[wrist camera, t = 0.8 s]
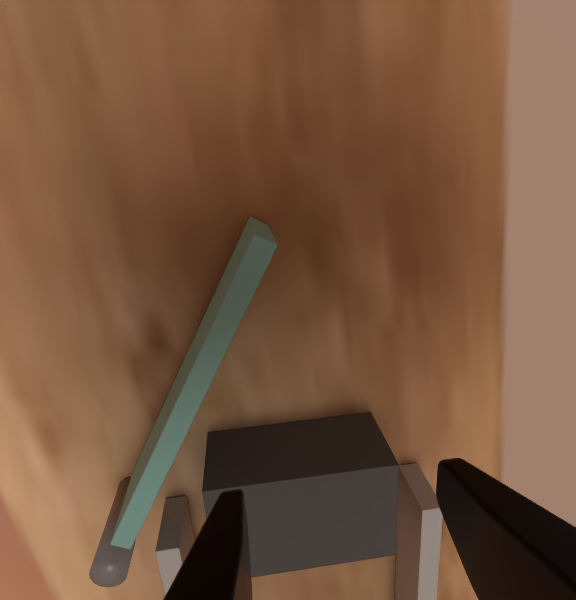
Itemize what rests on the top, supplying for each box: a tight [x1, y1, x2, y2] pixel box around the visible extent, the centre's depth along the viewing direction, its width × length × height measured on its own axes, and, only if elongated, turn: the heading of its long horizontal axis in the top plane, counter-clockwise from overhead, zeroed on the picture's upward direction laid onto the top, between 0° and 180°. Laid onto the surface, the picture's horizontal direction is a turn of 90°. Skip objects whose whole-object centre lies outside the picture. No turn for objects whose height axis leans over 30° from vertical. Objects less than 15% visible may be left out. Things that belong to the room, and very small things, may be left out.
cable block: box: [202, 412, 399, 577], centre depth 20 cm, size 5×8×4 cm, turn 93°
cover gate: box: [110, 217, 278, 549], centre depth 17 cm, size 1×13×4 cm, turn 153°
